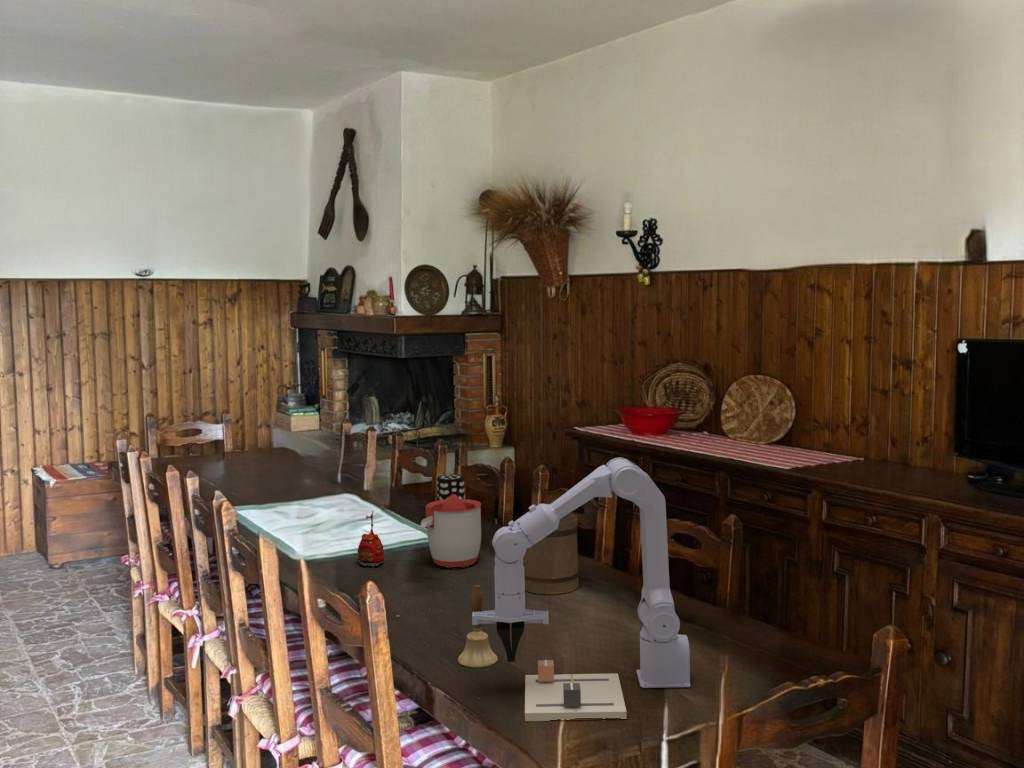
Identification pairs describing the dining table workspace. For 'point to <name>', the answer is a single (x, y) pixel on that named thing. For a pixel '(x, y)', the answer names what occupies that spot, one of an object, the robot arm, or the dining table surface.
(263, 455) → the dining table surface
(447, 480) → the spotted tube
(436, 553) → the citrus juicer
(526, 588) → the wooden container
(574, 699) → the fader charcoal
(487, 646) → the hand bell
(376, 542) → the red clay folk toy
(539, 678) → the fader terracotta
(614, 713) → the console
